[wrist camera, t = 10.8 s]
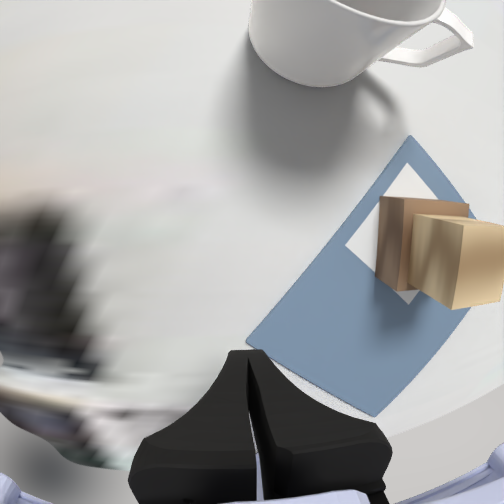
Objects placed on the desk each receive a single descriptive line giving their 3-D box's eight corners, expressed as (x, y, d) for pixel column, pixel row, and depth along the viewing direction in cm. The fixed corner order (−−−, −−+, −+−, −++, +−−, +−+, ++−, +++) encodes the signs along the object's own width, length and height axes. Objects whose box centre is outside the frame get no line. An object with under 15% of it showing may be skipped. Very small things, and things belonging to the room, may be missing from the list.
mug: (231, 70, 19) (234, -24, 8) (266, -17, 17) (289, -114, 6) (387, 126, 20) (492, 98, 9) (404, 38, 18) (486, -16, 8)
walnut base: (435, 272, 22) (460, 285, 19) (374, 276, 22) (396, 291, 19) (441, 199, 21) (469, 203, 18) (379, 195, 21) (404, 198, 17)
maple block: (454, 278, 19) (499, 301, 14) (407, 282, 19) (451, 310, 14) (461, 216, 18) (511, 227, 13) (413, 213, 18) (463, 225, 13)
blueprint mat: (373, 415, 26) (375, 417, 25) (245, 339, 23) (246, 342, 22) (498, 258, 23) (501, 259, 23) (408, 135, 20) (411, 135, 20)
